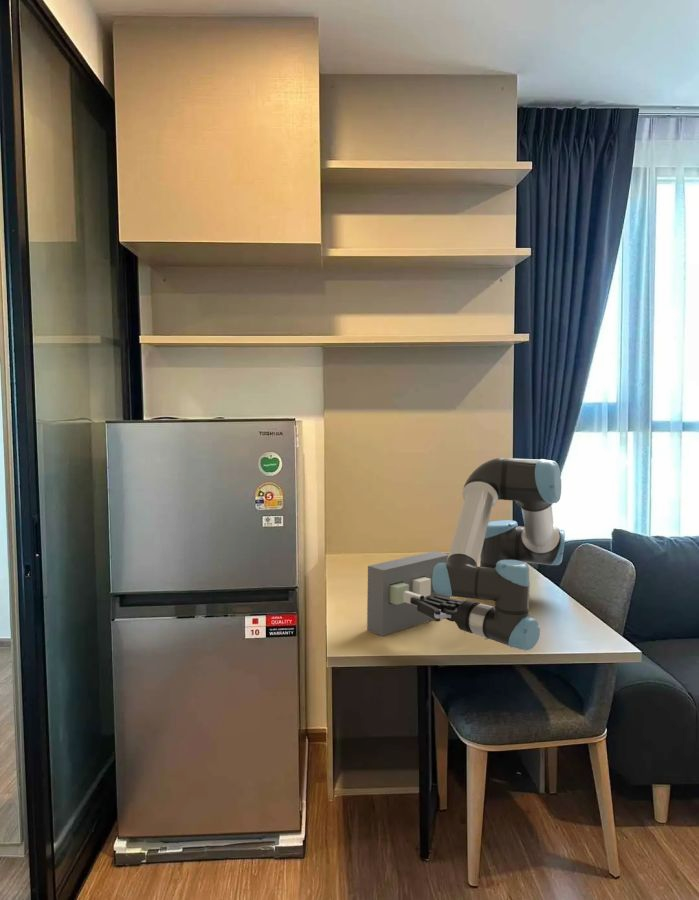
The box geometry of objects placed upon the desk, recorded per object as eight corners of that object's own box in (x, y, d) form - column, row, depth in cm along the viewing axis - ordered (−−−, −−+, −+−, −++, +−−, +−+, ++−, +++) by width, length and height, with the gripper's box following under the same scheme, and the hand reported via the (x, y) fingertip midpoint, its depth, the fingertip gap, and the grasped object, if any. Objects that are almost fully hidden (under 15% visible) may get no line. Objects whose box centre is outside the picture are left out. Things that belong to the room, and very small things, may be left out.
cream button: (415, 590, 190) (416, 574, 190) (430, 595, 186) (430, 578, 186) (404, 593, 187) (405, 577, 187) (419, 598, 183) (419, 581, 183)
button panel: (434, 609, 201) (435, 550, 199) (449, 614, 196) (451, 554, 195) (367, 630, 182) (367, 565, 181) (382, 636, 178) (383, 570, 176)
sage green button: (394, 596, 184) (394, 580, 184) (408, 601, 180) (408, 584, 180) (382, 599, 181) (382, 583, 181) (396, 604, 177) (397, 587, 177)
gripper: (459, 640, 156) (388, 615, 173) (492, 627, 165) (421, 605, 182) (460, 608, 155) (388, 587, 173) (493, 598, 164) (421, 578, 181)
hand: (405, 596), depth 177 cm, fingers closed
